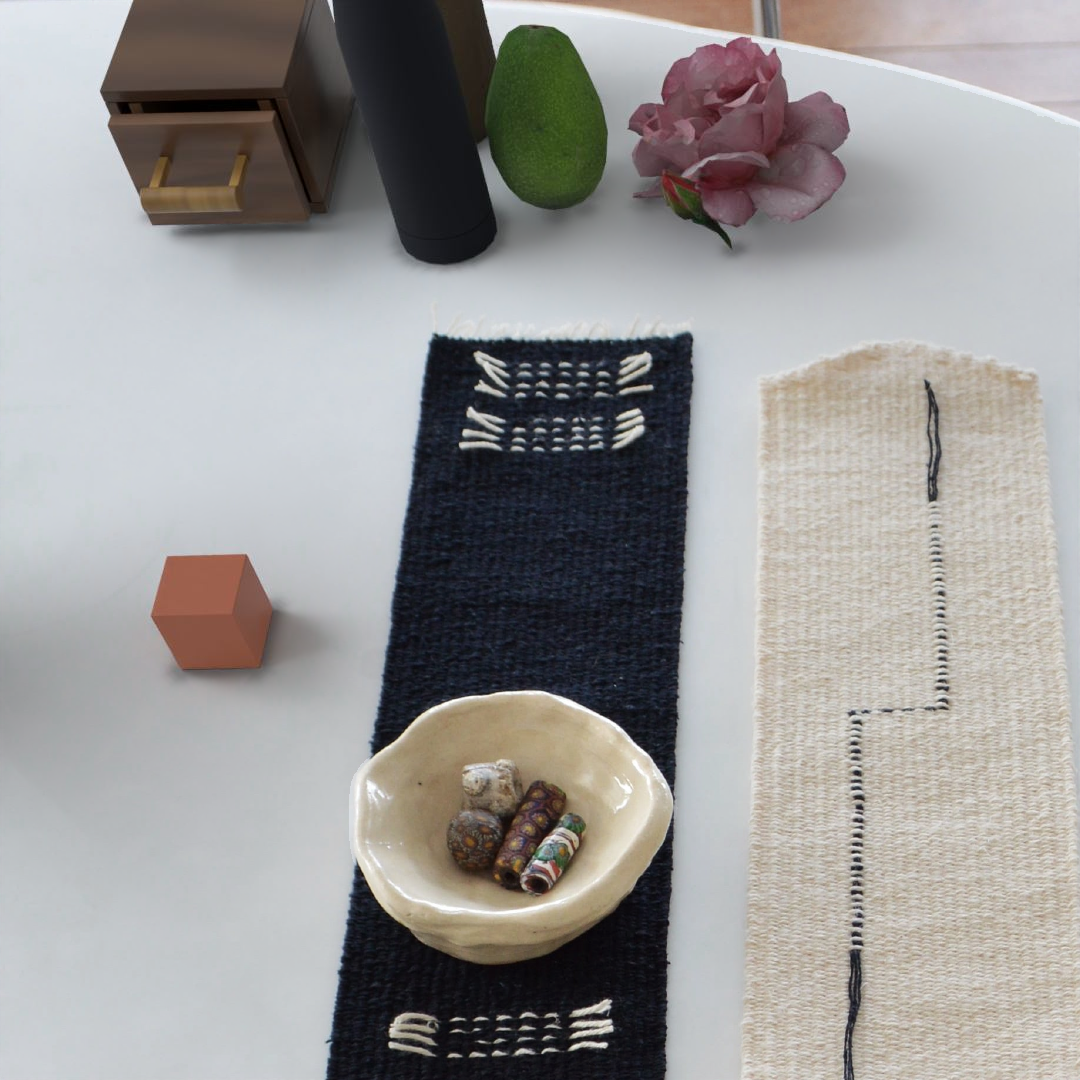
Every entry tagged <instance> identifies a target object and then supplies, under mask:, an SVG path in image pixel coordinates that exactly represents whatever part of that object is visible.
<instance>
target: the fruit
mask: <svg viewBox="0 0 1080 1080" xmlns="http://www.w3.org/2000/svg"><path fill="white" fill-rule="evenodd" d="M606 120H607V119H606V116H605V111H604V107H603V104H602V101H601V97H600V96H599V93H598V91H597V89H596V87H595V85H594V82H593V80H592V78H591V75H590V74H589V72H588V69H587V67H586V65H585V64H584V61H583V60H582V58H581V55H580V54H579V52H578V50H577V48H576V47H575V45H574V43H573V42H572V40H571V38H570V36H569V35H567V34H566V33H564V32H562V31H561V30H560V29H558V28H557V27H554V26H550V25H549V26H548V25H541V24H519V25H517V26H516V27H514V28H512V29H511V30H510V31H508V32H507V33H506V35H505V37H504V38H503V39H502V41H501V44H500V45H499V49H498V52H497V56H496V64H495V68H494V72H493V75H492V79H491V83H490V87H489V91H488V95H487V103H486V113H485V126H486V131H487V136H488V137H487V140H488V147H489V152H490V158H491V159H492V162H493V164H494V165H495V168H496V169H497V171H498V173H499V175H500V177H501V178H502V180H503V182H504V183H505V185H506V186H507V188H508V189H509V190H510V191H511V192H512V193H513V194H514V195H515V196H516V197H517V198H518V199H519V200H520V201H521V202H524V203H526V204H528V205H531V206H533V207H535V208H538V209H543V210H550V211H560V210H566V209H571V208H572V207H575V206H577V205H579V204H581V203H583V202H585V201H586V200H587V199H588V198H589V197H590V196H591V195H592V194H593V193H594V192H595V190H596V189H597V187H598V185H599V183H600V182H601V180H602V178H603V174H604V172H605V168H606V164H607V157H608V139H609V130H608V125H607V122H606Z"/></svg>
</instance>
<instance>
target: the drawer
mask: <svg viewBox="0 0 1080 1080" xmlns="http://www.w3.org/2000/svg"><path fill="white" fill-rule="evenodd" d="M128 104H129V107H130V109H131V111H132V114H112V115H111V116H110V115H109V119H108V122H107V127H108V130H109V133H110V135H111V136H112V139H113V141H114V143H115V146H116V148H117V151H118V152H119V154H120V157H121V159H122V162H123V164H124V166H125V168H126V171H127V173H128V175H129V177H130V179H131V181H132V183H133V186H134V188H135V191H136V192H137V195H138V197H139V200H140V205H141V208H142V210H143V211H144V212H145V214H146V216H147V217H148V219H149V222H150V224H151V225H152V227H153V226H154V227H155V226H189V225H190V226H191V225H193V226H195V225H197V226H199V225H230V224H231V225H233V224H235V225H236V224H278V223H279V224H281V223H309V221H310V218H311V214H312V213H311V209H310V206H309V203H308V200H307V197H306V195H305V192H304V187H305V181H304V178H303V175H302V173H301V170H300V167H299V164H298V161H297V159H296V156H295V153H294V150H293V147H292V144H291V142H290V139H289V136H288V133H287V130H286V128H285V125H284V122H283V119H282V116H281V113H280V111H279V108H278V105H277V102H276V98H266V99H221V100H177V101H132V102H129V103H128Z"/></svg>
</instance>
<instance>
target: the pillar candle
mask: <svg viewBox="0 0 1080 1080" xmlns="http://www.w3.org/2000/svg"><path fill="white" fill-rule="evenodd" d="M437 2H438V4H439V7H440V9H441V11H442V14H443V16H444V20H445V24H446V28H447V32H448V36H449V40H450V43H451V47H452V51H453V55H454V59H455V63H456V67H457V71H458V75H459V78H460V82H461V86H462V90H463V94H464V98H465V102H466V106H467V109H468V113H469V117H470V121H471V125H472V129H473V133H474V137H475V141H476V144H478V143H481V142H482V141H484V140H485V139H487V138H488V136H487V131H486V126H485V113H486V103H487V95H488V91H489V87H490V83H491V79H492V75H493V72H494V68H495V64H496V60H497V56H496V52H495V49H494V44H493V38H492V36H491V32H490V27H489V24H488V19H487V15H486V11H485V6H484V1H483V0H437Z"/></svg>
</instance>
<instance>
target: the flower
mask: <svg viewBox="0 0 1080 1080" xmlns="http://www.w3.org/2000/svg"><path fill="white" fill-rule="evenodd" d="M782 67H783V65H782V61H781V59H780V57H779V56H778V54H777V48H776V47H773V48H772V49H771V51H770V52H769V54H768V55H767V54H766V52H765V51H764V50H763V49H762V47H761V45H759V43H758V42H753V41H752V37H750V36H749V37H747V36H740V37H737V38H734V39H732V40H730V41H729V42H726V45H725V46H723V45H722V44H718V43H711V44H710V43H709V44H705V45H703V46H699V47H696V48H695V51H694V52H693V53H692V54H691V55H690V56H686V57H681V58H679V59H677V60H675V61H674V62H673V64H672V65H671V66H670V69H669V70H668V72H667V73H666V75H665V77H664V80H663V82H662V85H661V86H662V87H661V91H660V96H661V100H662V103H659V102H658V103H653V102H645V103H641V104H640V105H639V106H638V107H637V108H636V109H635V111H634V112H633V113H632V114H631V116H630V117H629V120H628V127H627V130H628V131H630V132H633V133H636V134H637V135H638V136H639V137H640V138H639V140H638V141H637V143H636V144H635V145H634V148H633V150H632V151H631V159H632V164H633V165H634V167H635V169H636V171H637V173H638V175H639V177H640V178H656V177H657V178H656V179H655V180H654V181H653V182H652V183H651V184H650V185H649V186H648V188H647V189H646V190H640V191H638V192H633V193H631V196H632V197H631V198H632V199H637V200H645V199H646V200H648V199H662V198H663V199H664V201H665V204H666V207H669V208H670V209H671V210H672V212H673V213H674V214H675V215H676V216H677V217H678V218H680V219H682V220H683V221H689V220H691V221H692V223H694V224H697V225H700V226H703V227H705V228H706V229H708V230H710V231H712V232H714V233H716V234H717V235H718V236H719V237H720V238H721V239H722V241H723V242H724V243H725V244H726V245H727V246H728V247H729V248H730V249H731V251H732V252H733V251H734V249H733V245H732V240H731V239H730V237H729V234H728V233H727V232H726V231H725V230H724V229H723V227H721V225H720V223H721V224H722V225H726V226H731V227H734V228H735V229H736V228H740V227H741V226H745V225H746V224H747V223H748V221H749V220H750V219H751V218H753V217H754V216H755V214H756V213H757V211H758V210H759V211H761V212H762V213H764V215H765V216H766V217H768V218H769V219H770V220H772V221H779V222H783V223H788V224H791V223H794V222H797V221H801V220H804V219H805V218H807V217H808V216H809V215H812V213H814V212H816V211H818V210H819V209H820V208H821V207H822V206H823V205H824V204H825V203H827V202H829V201H831V199H832V197H833V196H834V194H835V193H836V192H837V191H838V189H840V187H842V185H843V184H844V182H845V179H846V177H847V172H846V169H845V166H844V164H843V163H842V162H841V160H840V159H839V158H838V156H837V155H834V154H833V153H834V152H835V151H837V150H838V149H839V148H840V147H842V146H843V145H844V144H845V141H846V140H847V139H848V135H849V133H850V132H851V127H850V123H849V119H848V114H847V110H846V108H845V106H844V105H842V104H841V103H838V102H834V100H833V99H832V97H831V96H830V95H829V94H828V93H827V92H825V91H822V90H819V91H817V92H813V93H811V94H809V95H807V96H805V97H802V98H801V99H799V100H795V101H789V93H788V92H789V91H788V86H787V80H786V79H785V78H784V76H783V68H782Z"/></svg>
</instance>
